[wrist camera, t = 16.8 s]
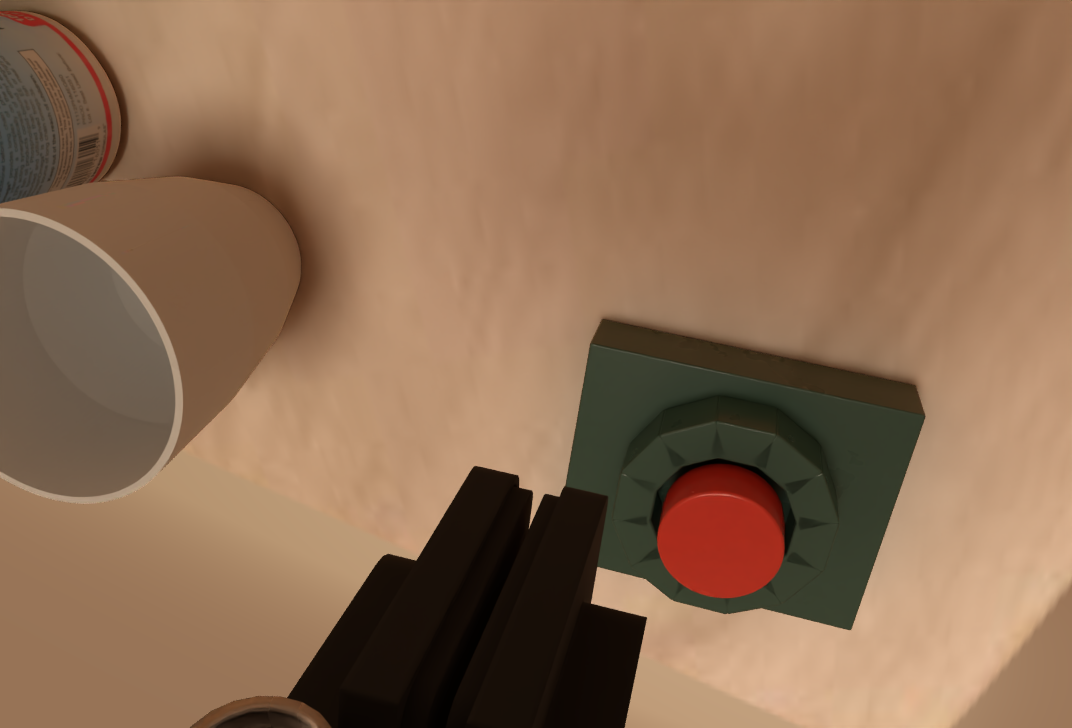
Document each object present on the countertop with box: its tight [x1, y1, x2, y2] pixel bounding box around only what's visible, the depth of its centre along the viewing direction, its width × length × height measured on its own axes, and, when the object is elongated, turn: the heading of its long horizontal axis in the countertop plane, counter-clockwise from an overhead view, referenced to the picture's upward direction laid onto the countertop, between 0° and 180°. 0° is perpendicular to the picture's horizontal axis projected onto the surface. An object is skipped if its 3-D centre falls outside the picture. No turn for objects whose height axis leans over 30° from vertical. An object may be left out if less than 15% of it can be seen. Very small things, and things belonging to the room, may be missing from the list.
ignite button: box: [657, 463, 785, 598], centre depth 28 cm, size 4×4×2 cm
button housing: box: [566, 319, 926, 630], centre depth 30 cm, size 10×8×4 cm
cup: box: [0, 176, 301, 503], centre depth 29 cm, size 8×8×10 cm
